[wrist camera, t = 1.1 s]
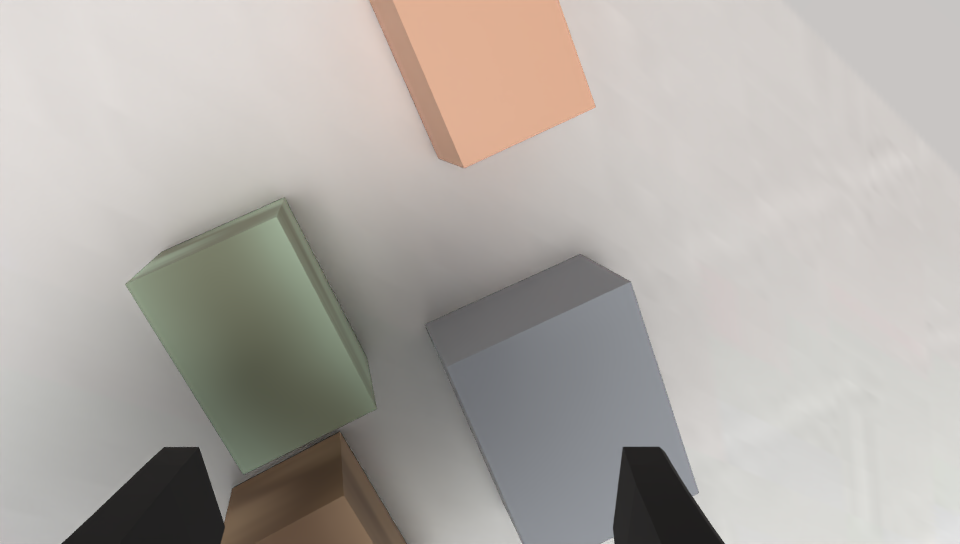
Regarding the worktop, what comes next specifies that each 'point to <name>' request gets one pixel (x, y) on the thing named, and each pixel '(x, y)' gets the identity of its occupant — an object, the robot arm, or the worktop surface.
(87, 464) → the worktop surface
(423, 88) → the terracotta brick
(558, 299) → the slate brick
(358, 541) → the walnut brick
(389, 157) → the worktop surface
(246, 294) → the sage brick
